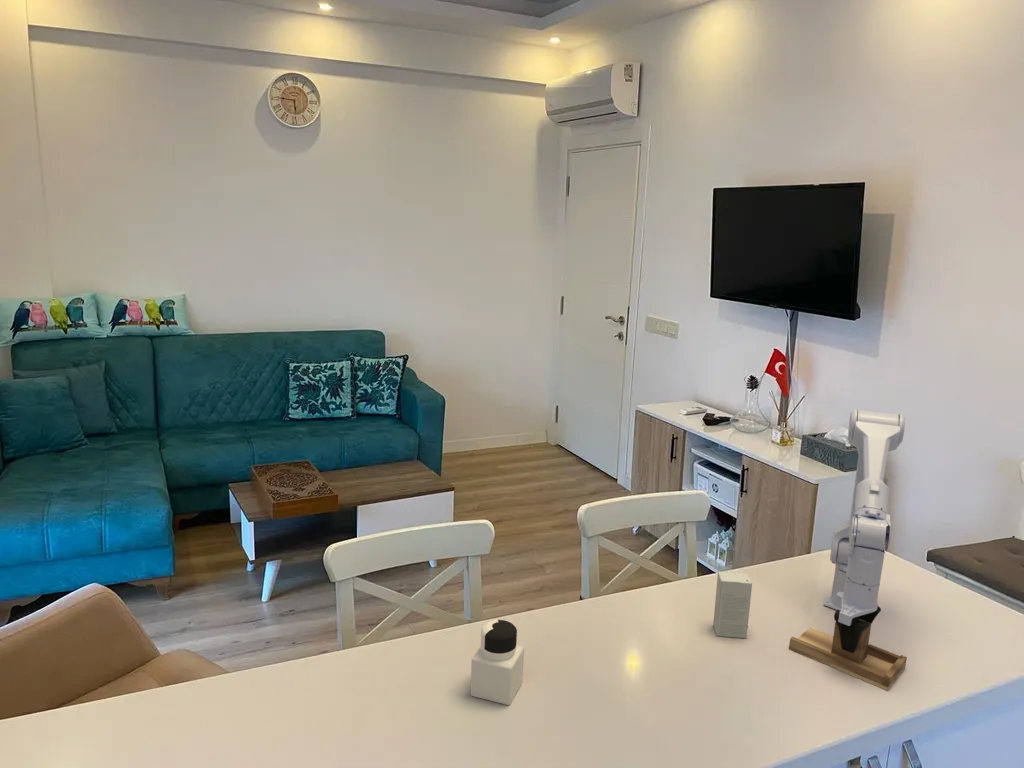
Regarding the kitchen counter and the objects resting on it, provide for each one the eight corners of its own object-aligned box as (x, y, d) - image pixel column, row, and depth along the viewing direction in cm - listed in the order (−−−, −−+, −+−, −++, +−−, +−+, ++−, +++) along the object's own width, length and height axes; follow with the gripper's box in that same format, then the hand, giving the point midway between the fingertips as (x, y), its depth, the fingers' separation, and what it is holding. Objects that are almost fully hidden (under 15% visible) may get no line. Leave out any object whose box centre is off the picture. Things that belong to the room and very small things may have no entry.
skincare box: (742, 627, 151) (748, 573, 148) (746, 639, 147) (753, 583, 144) (711, 625, 152) (717, 570, 149) (715, 636, 147) (721, 580, 145)
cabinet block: (839, 646, 144) (844, 609, 143) (866, 656, 141) (872, 619, 139) (830, 655, 141) (835, 617, 140) (858, 666, 138) (863, 628, 136)
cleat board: (809, 629, 151) (810, 619, 151) (905, 667, 139) (906, 657, 139) (788, 648, 144) (790, 638, 144) (887, 690, 132) (889, 679, 132)
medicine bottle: (523, 682, 130) (525, 620, 128) (509, 706, 124) (512, 641, 121) (485, 673, 133) (487, 611, 130) (469, 696, 126) (471, 632, 123)
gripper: (854, 559, 145) (845, 623, 148) (825, 583, 135) (816, 651, 138) (893, 572, 141) (882, 637, 143) (866, 598, 130) (855, 667, 133)
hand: (852, 645), depth 140 cm, fingers closed on cabinet block, 4 cm apart
